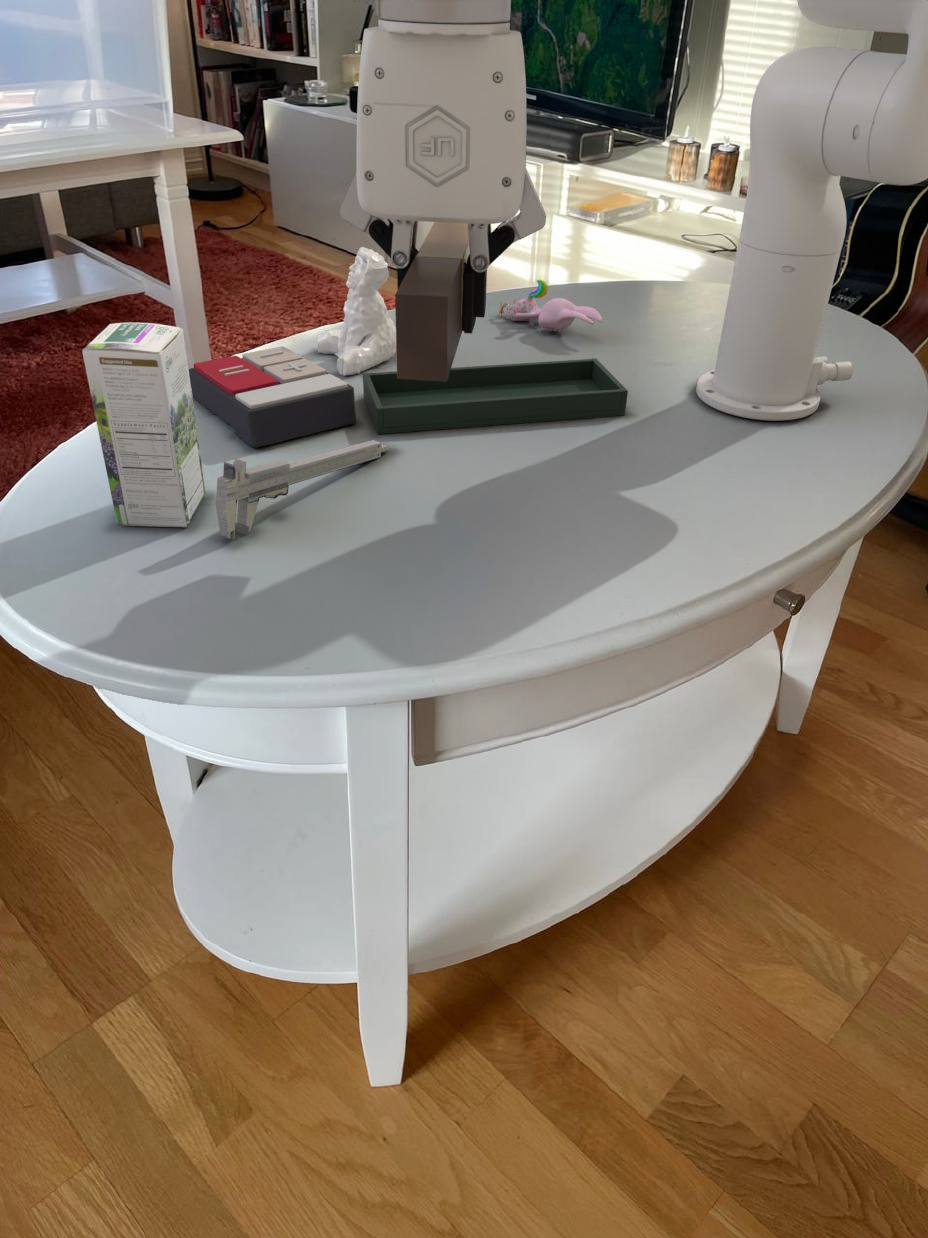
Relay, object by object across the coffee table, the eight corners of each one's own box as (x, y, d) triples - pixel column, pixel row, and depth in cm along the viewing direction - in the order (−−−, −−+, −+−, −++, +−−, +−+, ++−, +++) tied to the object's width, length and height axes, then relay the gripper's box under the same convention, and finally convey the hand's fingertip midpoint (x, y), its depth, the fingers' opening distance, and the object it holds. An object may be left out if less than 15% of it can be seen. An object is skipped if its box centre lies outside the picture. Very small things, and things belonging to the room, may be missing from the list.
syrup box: (139, 492, 78) (104, 320, 70) (209, 495, 78) (182, 322, 70) (116, 526, 73) (76, 346, 65) (191, 529, 73) (160, 349, 65)
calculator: (284, 341, 98) (355, 379, 88) (289, 381, 101) (358, 422, 90) (184, 361, 93) (247, 403, 83) (192, 402, 95) (253, 448, 85)
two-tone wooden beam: (477, 284, 71) (479, 215, 68) (446, 382, 55) (447, 296, 52) (438, 282, 71) (438, 213, 68) (396, 379, 55) (394, 293, 52)
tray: (593, 381, 101) (596, 358, 99) (625, 415, 94) (628, 390, 92) (363, 397, 96) (362, 373, 94) (377, 434, 89) (376, 408, 87)
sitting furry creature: (312, 349, 107) (304, 240, 100) (381, 339, 110) (378, 233, 103) (342, 377, 100) (335, 262, 93) (414, 366, 103) (414, 254, 96)
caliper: (230, 545, 72) (220, 471, 68) (220, 541, 72) (209, 468, 68) (390, 451, 86) (388, 386, 82) (380, 448, 86) (378, 383, 82)
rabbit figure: (490, 330, 118) (580, 342, 108) (486, 281, 115) (578, 288, 105) (524, 320, 121) (614, 331, 111) (522, 272, 119) (614, 278, 108)
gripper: (284, -1, 50) (310, 337, 61) (590, 8, 49) (561, 351, 59) (317, -6, 56) (335, 302, 67) (589, 2, 55) (563, 314, 66)
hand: (442, 322), depth 63 cm, fingers closed on two-tone wooden beam, 3 cm apart
